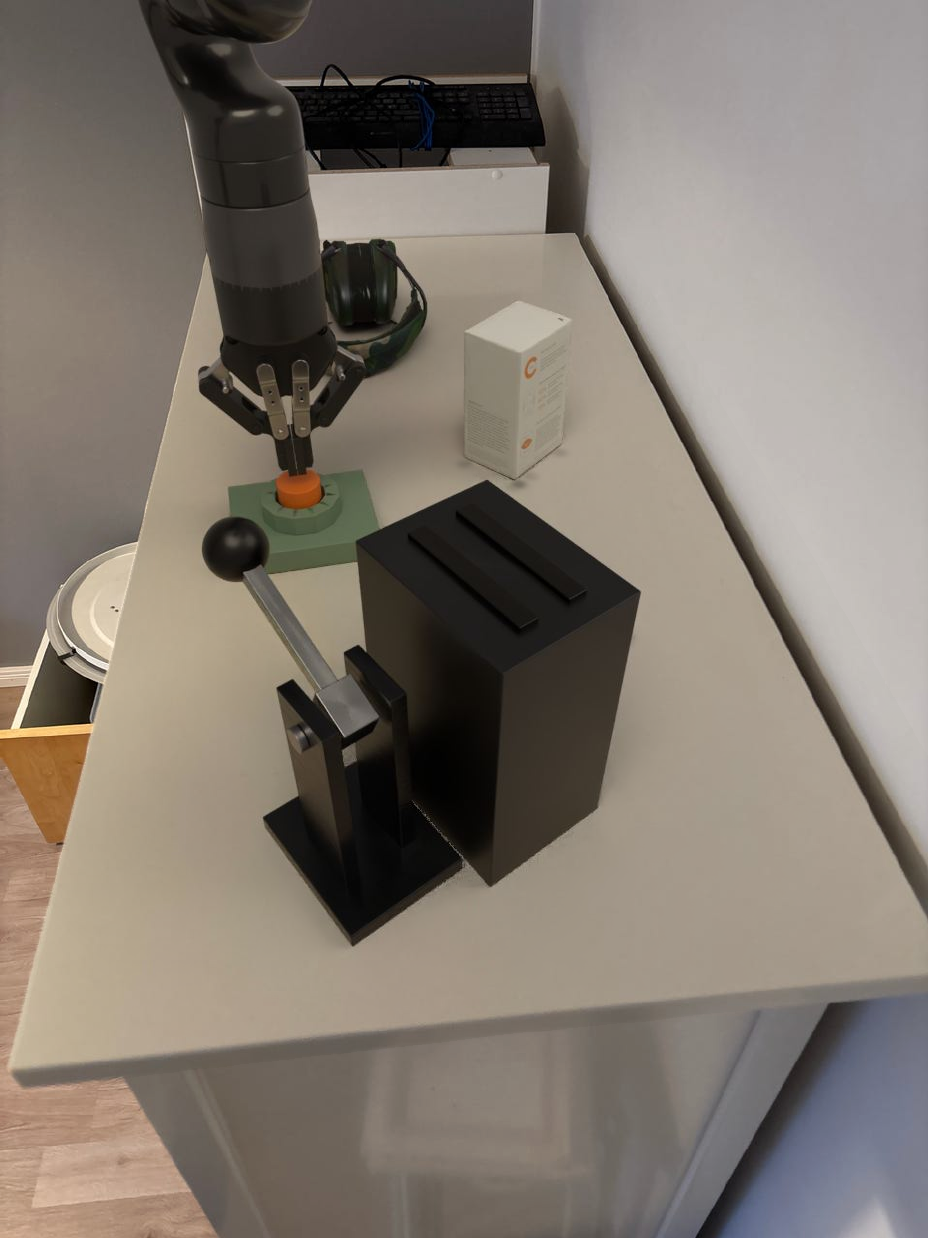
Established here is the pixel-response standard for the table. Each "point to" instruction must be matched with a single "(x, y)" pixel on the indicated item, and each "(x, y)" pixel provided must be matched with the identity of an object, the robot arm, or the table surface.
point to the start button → (299, 490)
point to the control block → (309, 521)
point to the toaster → (498, 668)
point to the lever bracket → (357, 809)
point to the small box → (515, 387)
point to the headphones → (371, 298)
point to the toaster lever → (286, 623)
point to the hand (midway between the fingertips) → (297, 469)
